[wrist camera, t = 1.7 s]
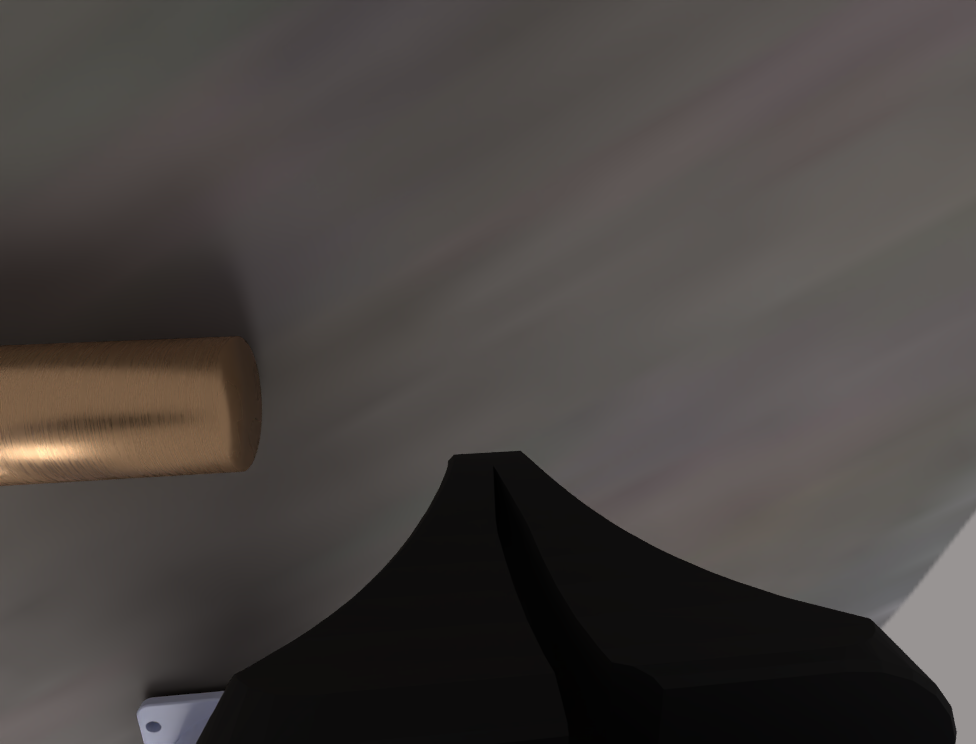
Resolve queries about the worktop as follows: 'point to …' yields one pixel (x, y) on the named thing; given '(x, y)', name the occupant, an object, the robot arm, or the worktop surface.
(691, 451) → the worktop surface
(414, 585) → the robot arm
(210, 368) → the tube
